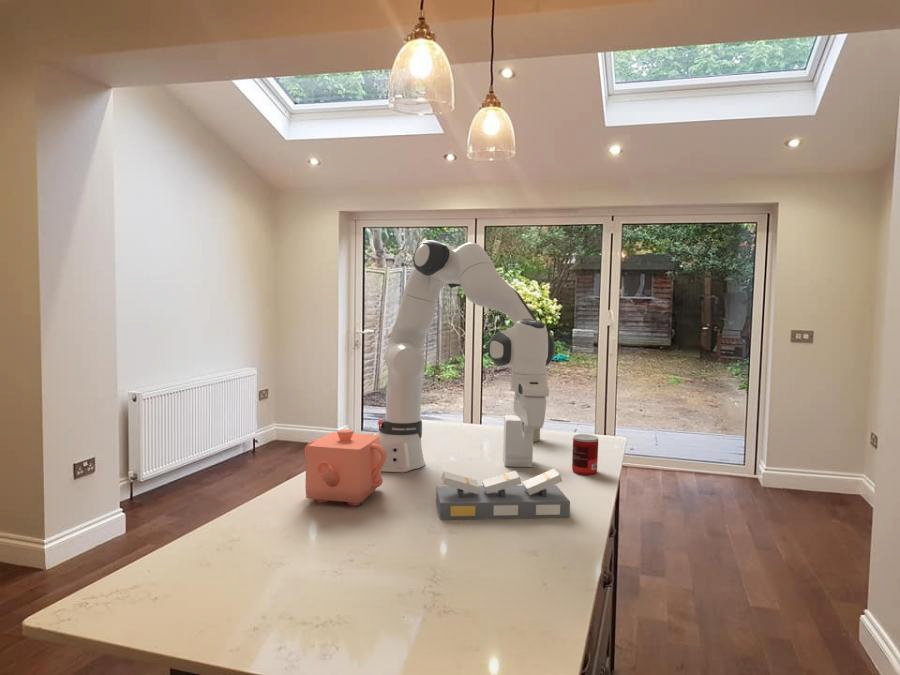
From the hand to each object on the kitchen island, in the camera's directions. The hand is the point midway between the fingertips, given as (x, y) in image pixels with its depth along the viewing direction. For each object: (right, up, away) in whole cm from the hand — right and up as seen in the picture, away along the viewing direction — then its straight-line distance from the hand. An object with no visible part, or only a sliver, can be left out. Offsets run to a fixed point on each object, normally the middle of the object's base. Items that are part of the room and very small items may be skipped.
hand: (526, 438), depth 159 cm
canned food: (+22, -16, +36) cm, 45 cm away
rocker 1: (-17, -11, 0) cm, 20 cm away
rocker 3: (+4, -11, +2) cm, 12 cm away
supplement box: (+2, -15, +44) cm, 47 cm away
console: (-6, -18, +1) cm, 19 cm away
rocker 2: (-6, -11, +1) cm, 13 cm away
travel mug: (+10, -13, +77) cm, 79 cm away
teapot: (-48, -17, +5) cm, 51 cm away
